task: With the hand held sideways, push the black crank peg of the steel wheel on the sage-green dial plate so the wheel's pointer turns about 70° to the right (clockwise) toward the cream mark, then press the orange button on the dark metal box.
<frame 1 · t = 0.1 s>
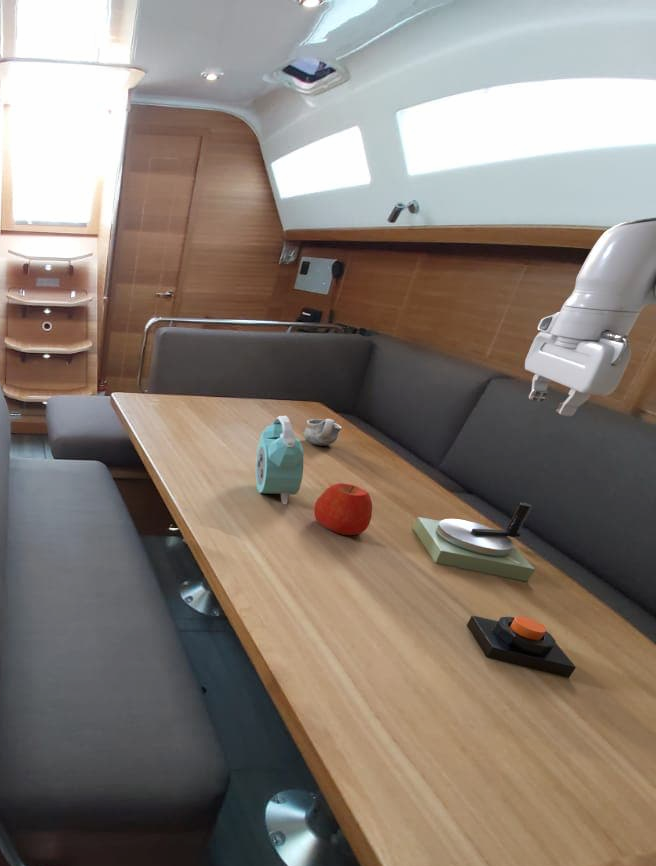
hand: (548, 407, 88), 33 cm above the table, tool pointing down, fingers open, 8 cm apart
grey spouted pot: (319, 446, 160), on the table
dial plate: (465, 552, 105), on the table
apple: (336, 528, 112), on the table
button box: (514, 650, 79), on the table
wheel: (488, 522, 101), point 8 cm above the table, hinge at 0.0°
alarm clock: (270, 493, 128), on the table
button: (527, 628, 77), point 4 cm above the table, slide at 0.1 cm
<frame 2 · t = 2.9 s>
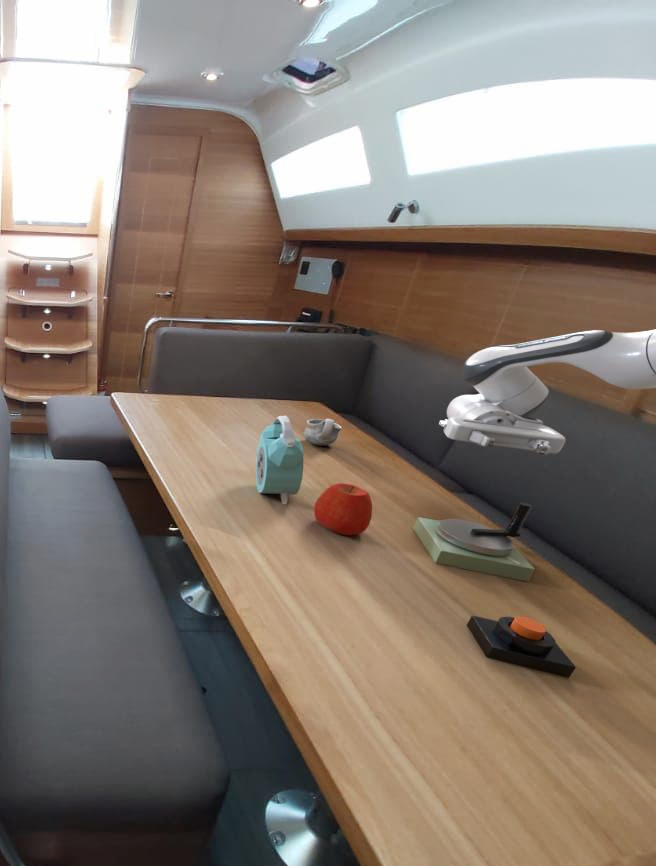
hand: (517, 446, 106), 20 cm above the table, tool horizontal, fingers open, 8 cm apart
nothing on the table moved.
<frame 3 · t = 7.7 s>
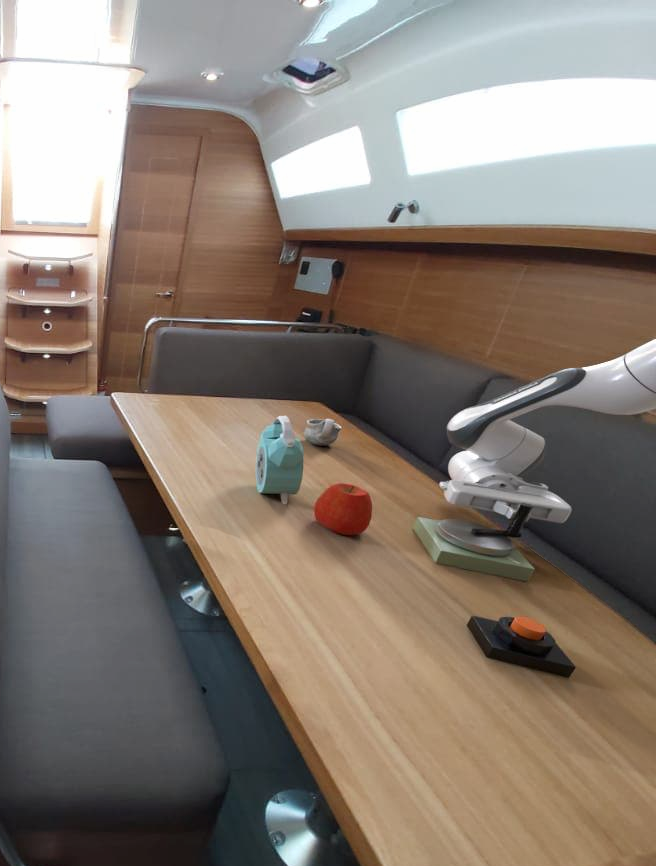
hand: (520, 517, 101), 9 cm above the table, tool horizontal, fingers closed, pressing on wheel
wheel: (488, 522, 101), point 8 cm above the table, hinge at -1.8°, touching gripper
everything else where it was.
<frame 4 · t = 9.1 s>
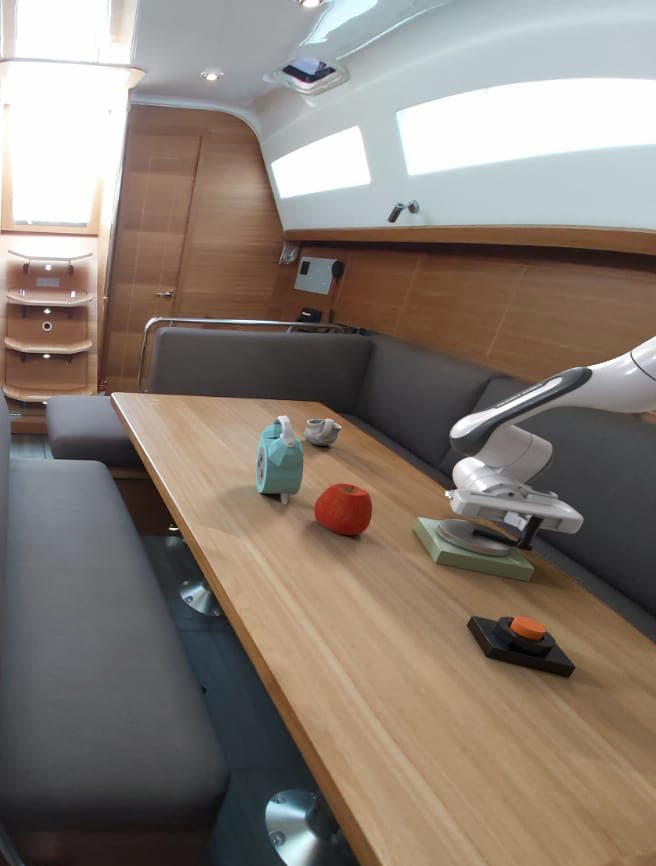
hand: (530, 528, 97), 9 cm above the table, tool horizontal, fingers closed, pressing on wheel
wheel: (487, 524, 101), point 8 cm above the table, hinge at -43.8°, touching gripper
everything else where it was.
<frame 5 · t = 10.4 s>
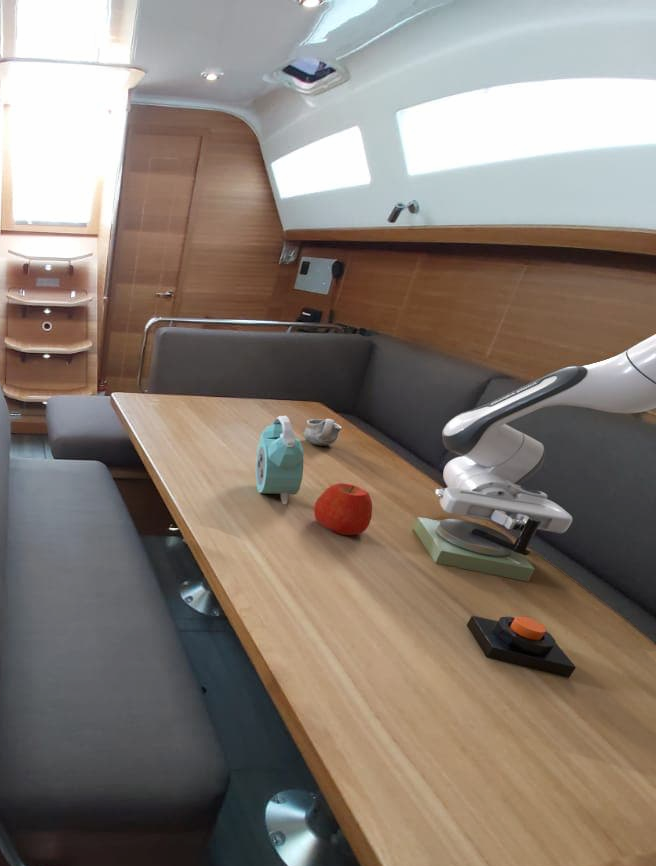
hand: (519, 527, 97), 9 cm above the table, tool horizontal, fingers closed
wheel: (486, 524, 100), point 8 cm above the table, hinge at -63.7°
everything else where it was.
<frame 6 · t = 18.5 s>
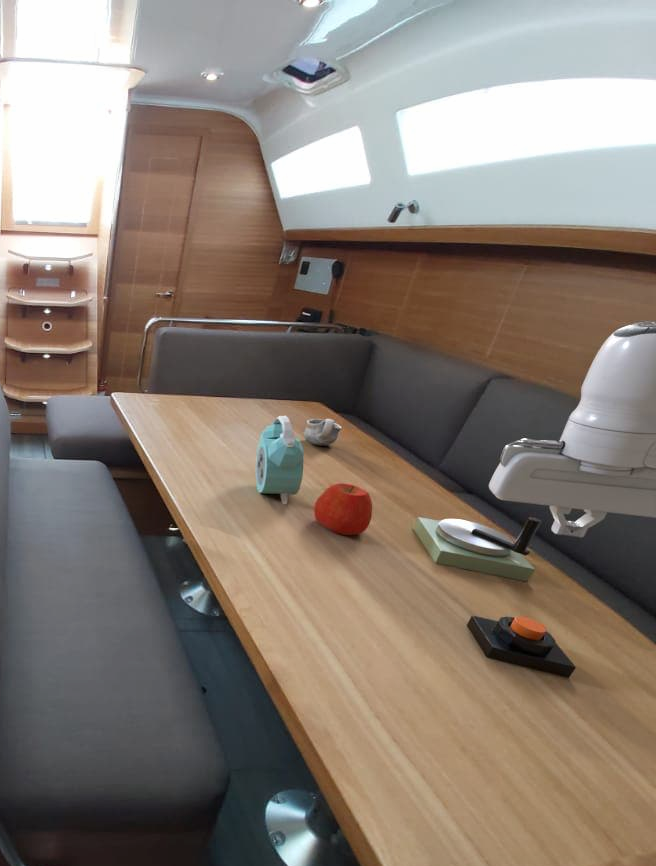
hand: (566, 534, 73), 20 cm above the table, tool pointing down, fingers closed
nothing on the table moved.
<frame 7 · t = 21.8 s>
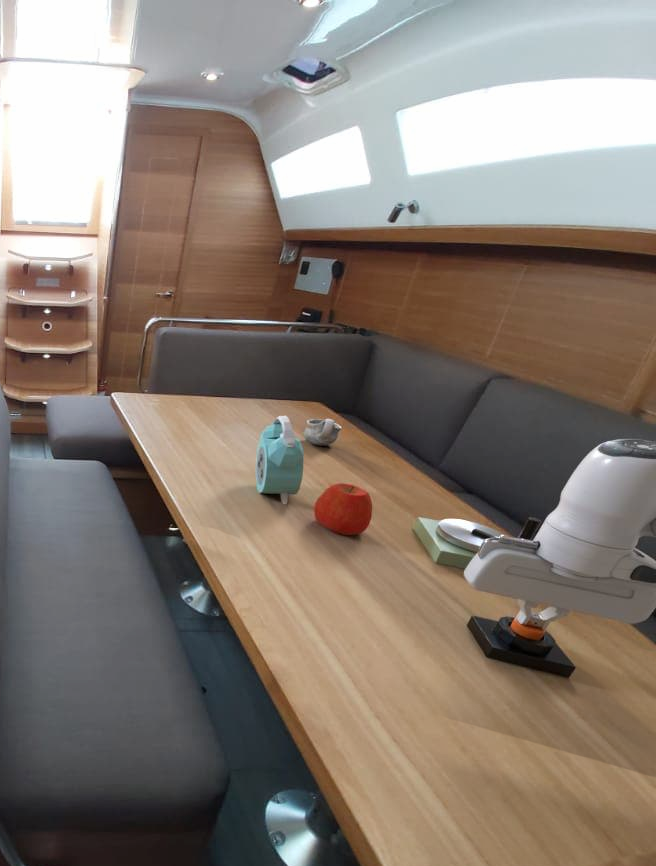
hand: (529, 624, 77), 5 cm above the table, tool pointing down, fingers closed, pressing on button
button: (527, 628, 77), point 4 cm above the table, slide at 0.0 cm, touching gripper
everything else where it was.
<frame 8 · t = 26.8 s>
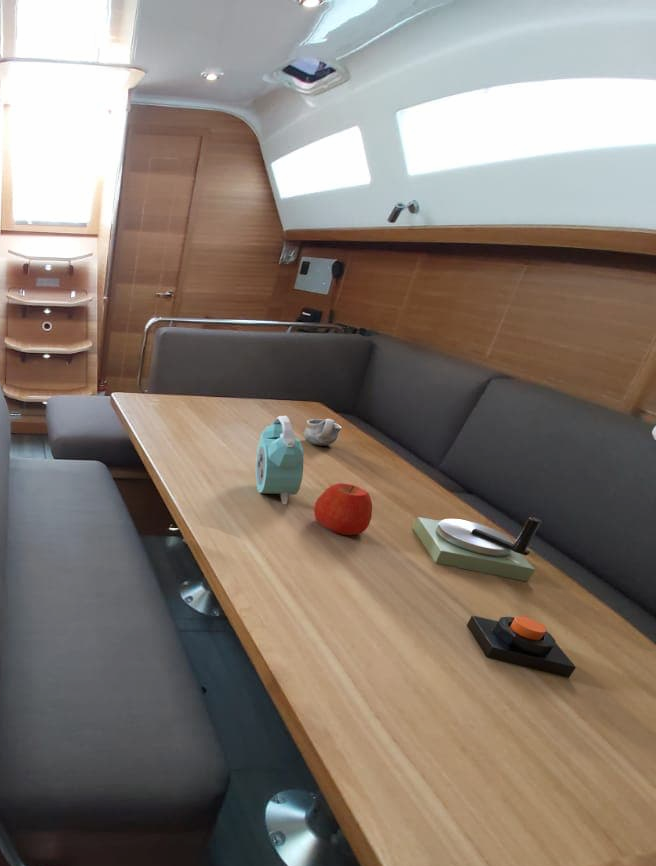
button: (527, 628, 77), point 4 cm above the table, slide at 0.1 cm
everything else where it was.
at the end: wheel at -64° (first picture: +0°); button pushed in 1.0 cm at the most during the clip, back to where it started at the end; button slide at 0.1 cm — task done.
